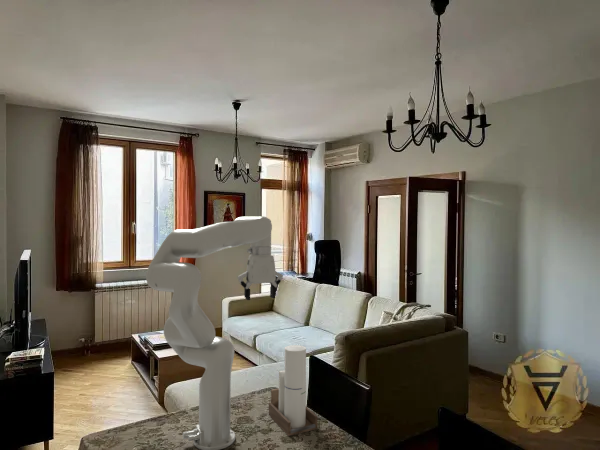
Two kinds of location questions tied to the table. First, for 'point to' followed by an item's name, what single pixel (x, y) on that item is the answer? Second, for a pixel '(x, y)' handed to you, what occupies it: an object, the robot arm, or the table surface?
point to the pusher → (281, 390)
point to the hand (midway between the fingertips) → (260, 298)
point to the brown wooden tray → (284, 422)
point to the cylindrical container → (295, 385)
